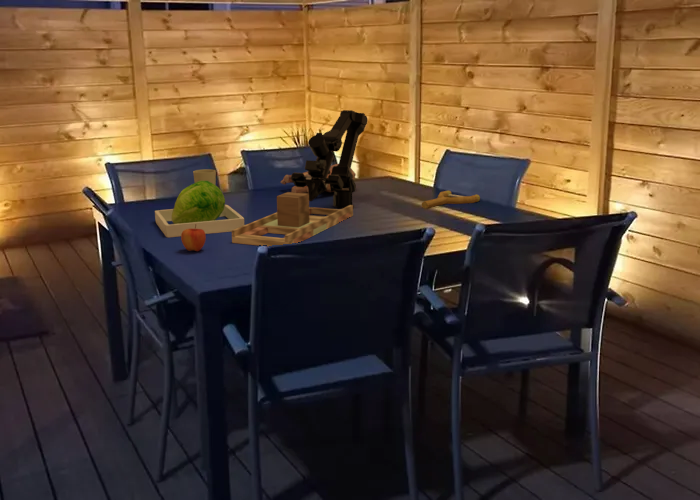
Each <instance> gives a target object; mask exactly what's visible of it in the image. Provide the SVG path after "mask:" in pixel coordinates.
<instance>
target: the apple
mask: <svg viewBox="0 0 700 500" xmlns="http://www.w3.org/2000/svg"><path fill="white" fill-rule="evenodd" d="M195 228H196V224H195ZM206 235H207V234H205V232H204V230H202V229H186V230H184V231H183V232H182V234H181V236H180V239H181V242H182V245H183V247H184V248H185V250H187V251H189V252H191V251H195V252H199V251H201V250H202V249H203V247H204V245H205V243H206V241H207V240H206V238H207V237H206Z"/></svg>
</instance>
